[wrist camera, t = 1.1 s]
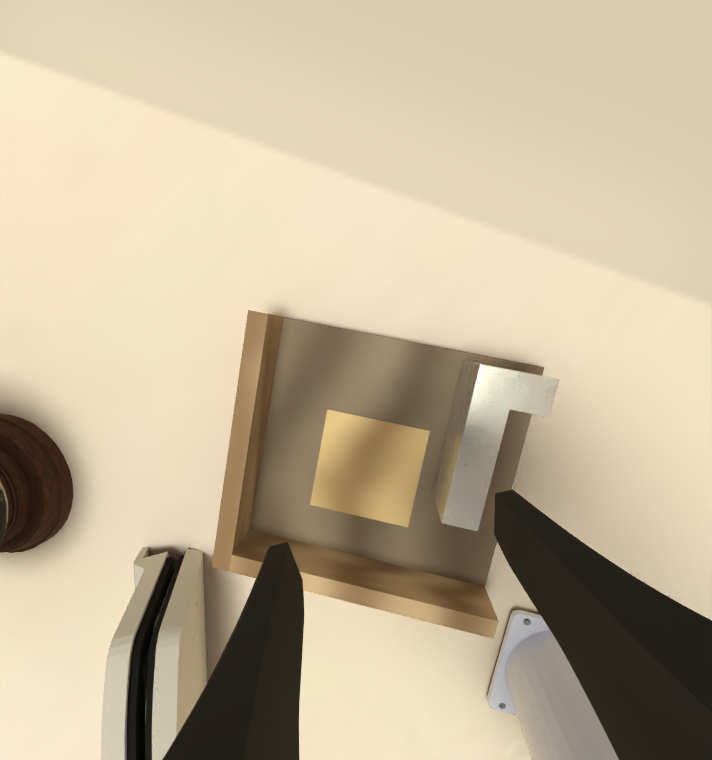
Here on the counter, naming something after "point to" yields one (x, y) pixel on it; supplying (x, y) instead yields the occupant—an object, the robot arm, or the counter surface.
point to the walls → (316, 564)
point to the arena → (372, 450)
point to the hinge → (155, 658)
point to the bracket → (481, 435)
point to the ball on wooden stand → (30, 486)
